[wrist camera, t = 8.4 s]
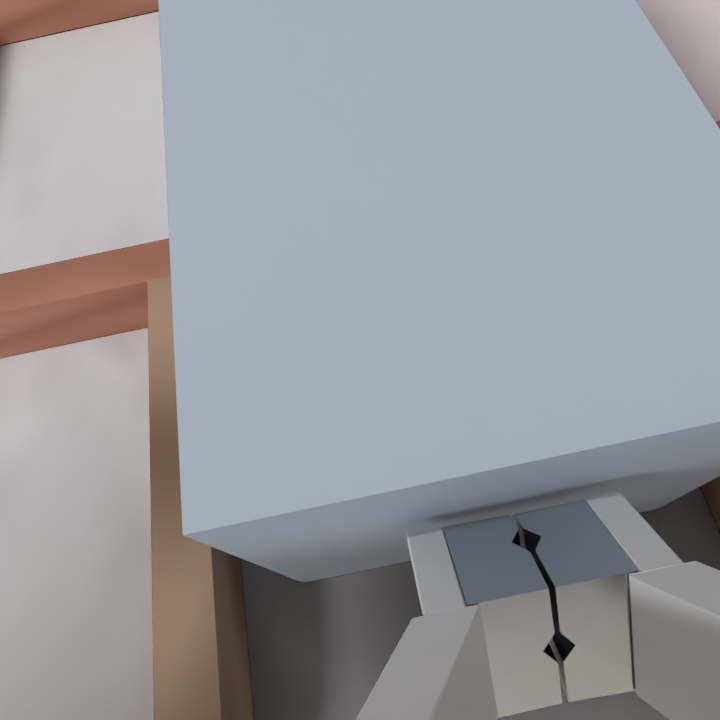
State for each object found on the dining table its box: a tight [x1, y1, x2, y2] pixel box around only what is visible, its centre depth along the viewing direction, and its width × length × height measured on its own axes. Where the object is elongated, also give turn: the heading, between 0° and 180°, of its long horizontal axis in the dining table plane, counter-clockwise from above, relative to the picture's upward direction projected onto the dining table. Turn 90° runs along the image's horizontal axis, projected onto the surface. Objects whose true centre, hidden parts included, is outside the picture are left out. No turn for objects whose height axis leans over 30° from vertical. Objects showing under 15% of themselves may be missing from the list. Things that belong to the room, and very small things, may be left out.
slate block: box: [158, 0, 720, 583], centre depth 12 cm, size 12×8×7 cm, turn 11°
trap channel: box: [0, 0, 720, 720], centre depth 17 cm, size 32×31×2 cm
